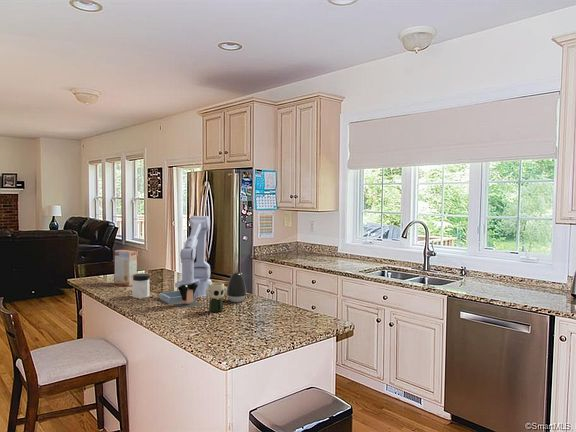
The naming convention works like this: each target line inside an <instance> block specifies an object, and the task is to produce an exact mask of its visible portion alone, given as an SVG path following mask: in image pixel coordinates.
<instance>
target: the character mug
mask: <svg viewBox="0 0 576 432" xmlns="http://www.w3.org/2000/svg"><path fill="white" fill-rule="evenodd" d="M227 287H228V286H225V284H224V283H222V282H212V283H210V284H209V289H206V296H205V297H209V298H210V302H209V303H210V305H209V311H211V312H213V313H215V312H217V313H218V312H223V310H224V308H223V307H224V305H223V299H222V298H224V296H225V294H227ZM208 291H209V294H208Z"/></svg>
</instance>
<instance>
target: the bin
mask: <svg viewBox="0 0 576 432" xmlns="http://www.w3.org/2000/svg"><path fill="white" fill-rule="evenodd" d="M158 296H159V300H161V301H163V302H165V303H167V304H168V305H173V304H177V303H183V302H181V293H180V291H179V290H172V291H163V292H159V295H158ZM196 298H197V297H196V295H195V294H194V296H193V301H195V302H197V301H196Z"/></svg>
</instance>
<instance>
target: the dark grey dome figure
mask: <svg viewBox="0 0 576 432" xmlns="http://www.w3.org/2000/svg"><path fill="white" fill-rule="evenodd" d="M226 287H227V293H226V296H227V299H228V301H230V302H232V303H241V302H243V301H244V300H245V299H246V296H247V288H246V283H245V279H244V277H243V272H238V271H237V272H234V273H232V275H231V276H230V278H229V281H228V284H227V286H226Z"/></svg>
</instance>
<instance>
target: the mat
mask: <svg viewBox="0 0 576 432" xmlns="http://www.w3.org/2000/svg"><path fill="white" fill-rule="evenodd" d="M172 305H173V306H175V308H178V309H180V310H181V309H186V308H193V307H194V308H195V307H200V306H201V307H202V306H203V304H202V303H199V302H197V301H193V302H190V303H183V302H182V303H174V304H172Z"/></svg>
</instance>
